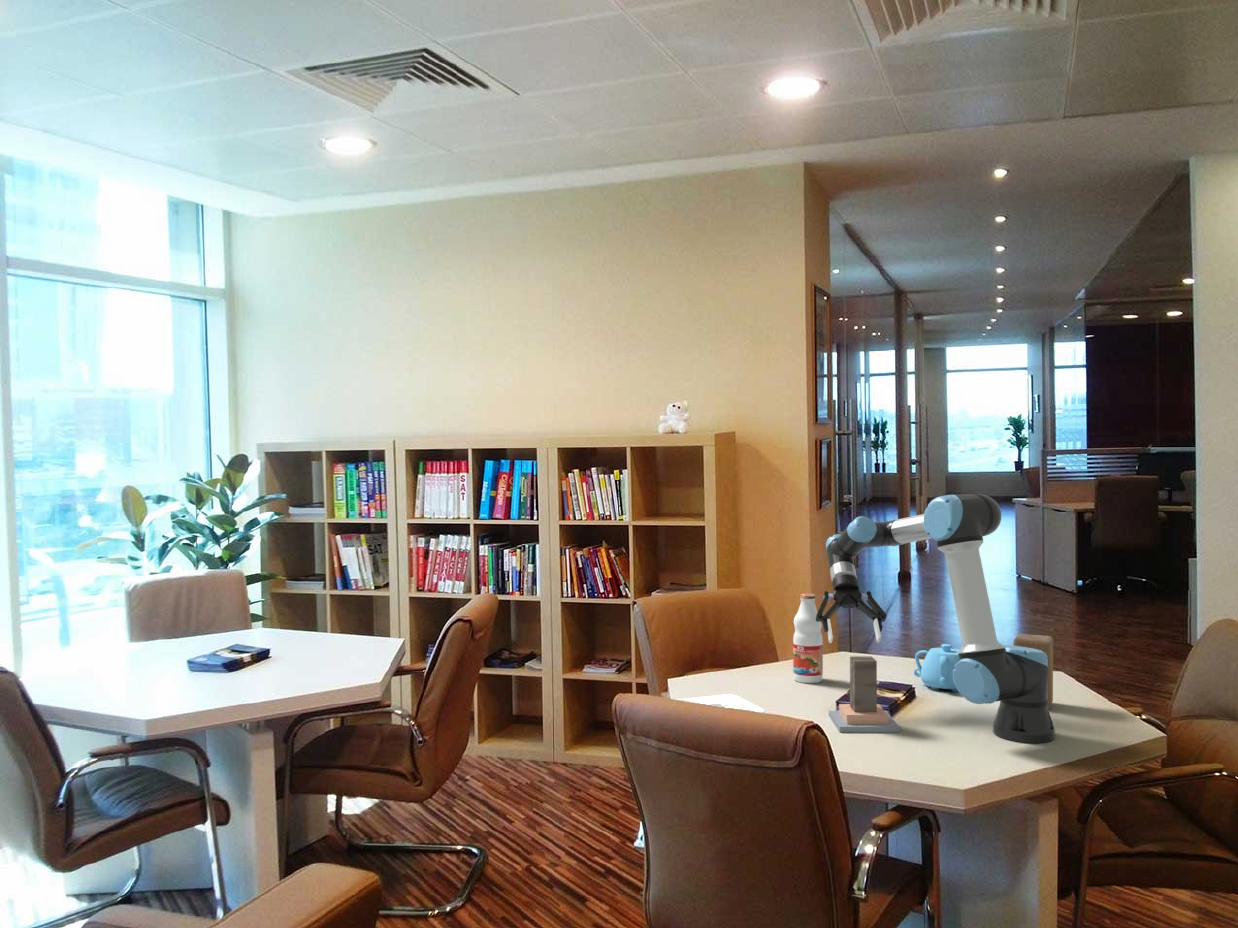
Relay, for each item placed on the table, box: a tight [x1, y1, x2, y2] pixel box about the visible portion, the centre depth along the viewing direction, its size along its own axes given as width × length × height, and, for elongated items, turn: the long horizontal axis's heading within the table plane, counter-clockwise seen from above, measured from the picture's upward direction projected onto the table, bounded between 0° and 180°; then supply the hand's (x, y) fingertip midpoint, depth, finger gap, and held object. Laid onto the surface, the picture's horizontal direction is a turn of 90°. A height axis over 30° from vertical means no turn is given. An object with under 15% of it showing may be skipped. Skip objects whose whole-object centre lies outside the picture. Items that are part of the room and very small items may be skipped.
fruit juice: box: [792, 593, 824, 684], centre depth 324 cm, size 9×9×28 cm
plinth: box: [828, 703, 901, 733], centre depth 274 cm, size 16×16×4 cm
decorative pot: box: [913, 643, 960, 693], centre depth 313 cm, size 16×16×14 cm
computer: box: [676, 693, 766, 714], centre depth 285 cm, size 22×22×3 cm
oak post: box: [849, 655, 878, 712], centre depth 274 cm, size 6×6×14 cm
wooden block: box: [1013, 633, 1054, 710], centre depth 292 cm, size 10×10×20 cm
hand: (855, 640), depth 284 cm, fingers open, 13 cm apart
